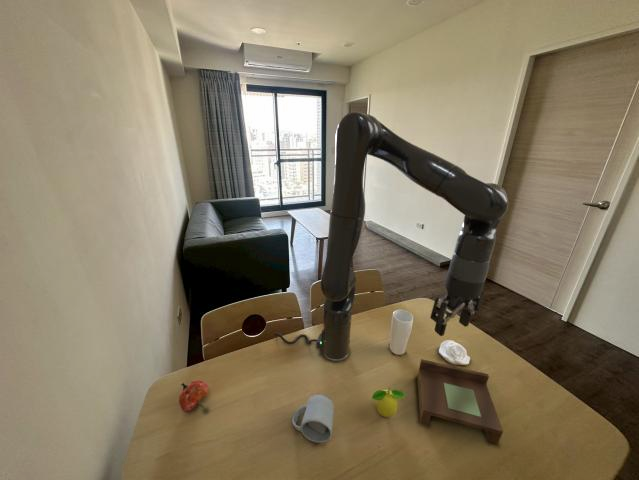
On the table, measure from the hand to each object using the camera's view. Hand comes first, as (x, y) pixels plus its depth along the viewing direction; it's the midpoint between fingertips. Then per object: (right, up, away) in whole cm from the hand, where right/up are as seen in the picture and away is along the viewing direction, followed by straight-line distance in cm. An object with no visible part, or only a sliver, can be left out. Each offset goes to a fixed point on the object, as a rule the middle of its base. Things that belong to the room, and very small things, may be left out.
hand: (451, 328), depth 63 cm
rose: (+13, -18, +24) cm, 33 cm away
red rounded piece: (-68, -24, +7) cm, 72 cm away
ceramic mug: (-35, -26, +2) cm, 44 cm away
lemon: (-15, -25, +6) cm, 30 cm away
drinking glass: (-6, -17, +26) cm, 32 cm away
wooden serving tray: (+4, -25, +7) cm, 26 cm away
